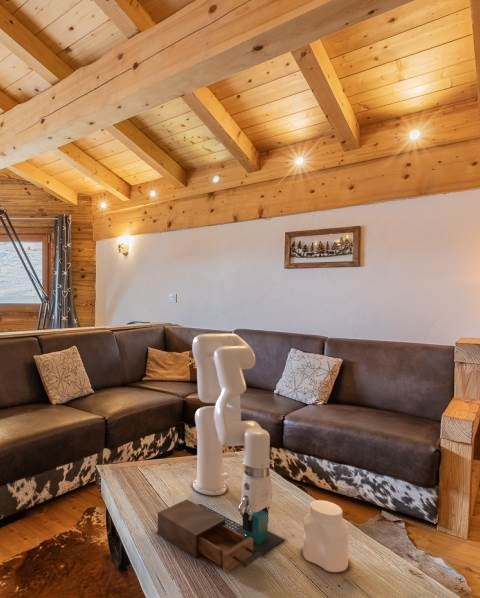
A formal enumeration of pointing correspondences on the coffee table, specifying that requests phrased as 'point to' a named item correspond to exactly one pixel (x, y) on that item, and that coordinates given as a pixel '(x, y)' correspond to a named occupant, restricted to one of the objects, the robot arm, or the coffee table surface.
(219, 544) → the drawer
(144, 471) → the coffee table surface
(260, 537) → the box
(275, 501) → the coffee table surface
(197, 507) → the cabinet
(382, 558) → the coffee table surface
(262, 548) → the mat
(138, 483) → the coffee table surface
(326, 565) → the jar
